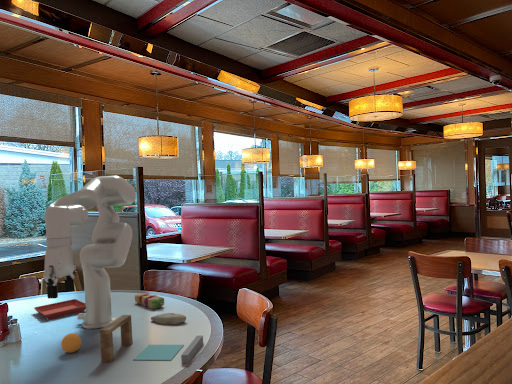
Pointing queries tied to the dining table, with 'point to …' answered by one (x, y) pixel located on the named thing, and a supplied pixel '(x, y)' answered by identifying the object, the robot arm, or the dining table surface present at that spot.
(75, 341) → the ball
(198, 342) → the stopper rail
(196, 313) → the dining table surface
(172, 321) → the decorative stone
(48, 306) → the plant saucer
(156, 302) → the skewer
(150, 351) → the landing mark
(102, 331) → the bridge
